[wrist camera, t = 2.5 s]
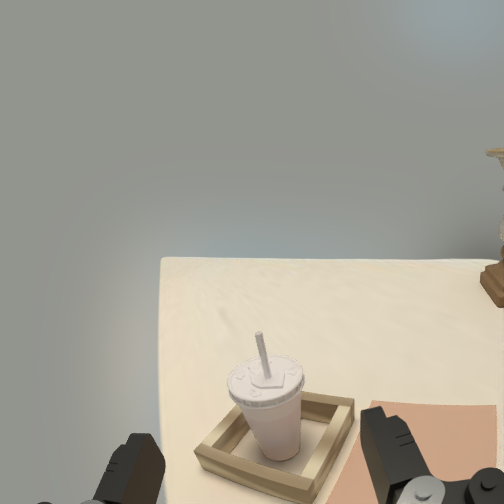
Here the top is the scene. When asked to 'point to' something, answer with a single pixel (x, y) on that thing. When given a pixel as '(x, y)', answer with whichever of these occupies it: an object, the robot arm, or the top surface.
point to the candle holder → (500, 275)
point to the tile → (428, 446)
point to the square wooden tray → (272, 480)
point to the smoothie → (270, 400)
